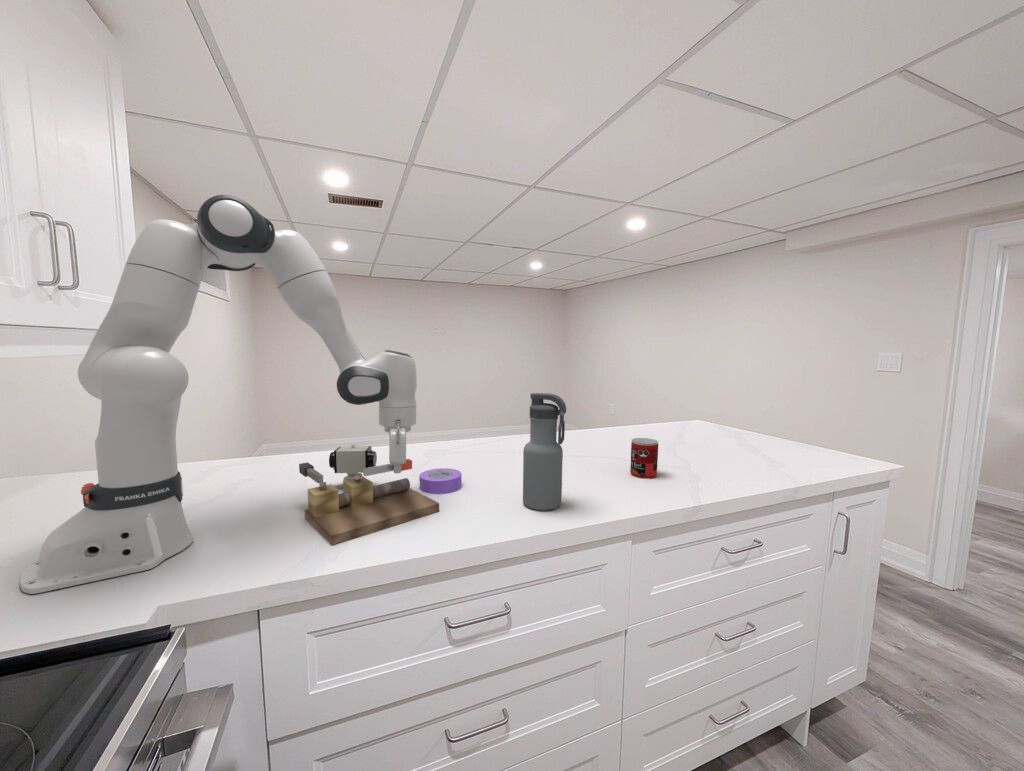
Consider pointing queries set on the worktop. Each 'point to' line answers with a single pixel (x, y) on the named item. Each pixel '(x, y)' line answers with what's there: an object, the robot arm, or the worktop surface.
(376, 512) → the pipe board
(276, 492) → the worktop surface
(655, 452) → the canned food
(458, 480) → the masking tape
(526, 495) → the water bottle
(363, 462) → the pneumatic valve
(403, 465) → the red lever
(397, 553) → the worktop surface
